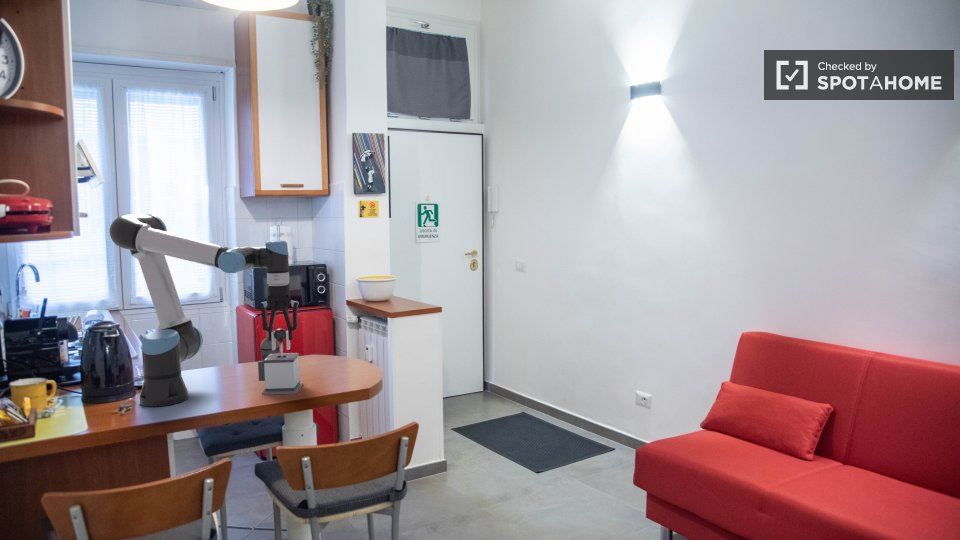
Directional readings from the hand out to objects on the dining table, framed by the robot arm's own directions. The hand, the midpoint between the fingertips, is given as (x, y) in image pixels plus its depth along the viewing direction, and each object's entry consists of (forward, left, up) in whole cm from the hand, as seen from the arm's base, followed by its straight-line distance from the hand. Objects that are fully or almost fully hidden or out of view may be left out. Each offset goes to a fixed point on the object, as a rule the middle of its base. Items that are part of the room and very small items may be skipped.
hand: (281, 349), depth 244 cm
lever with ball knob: (0, 0, -12) cm, 12 cm away
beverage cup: (-8, +17, -15) cm, 24 cm away
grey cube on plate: (-1, 0, -15) cm, 15 cm away
